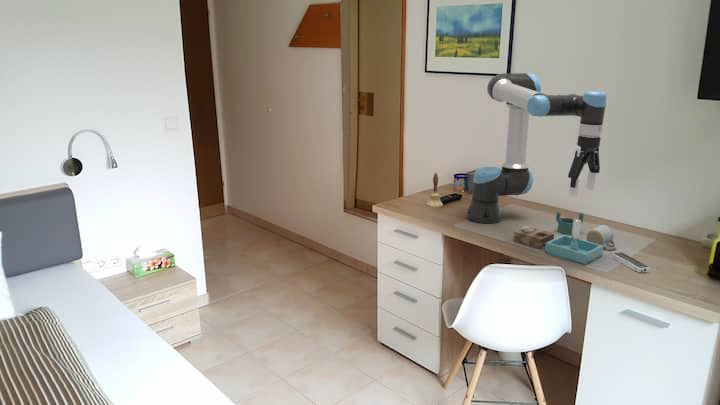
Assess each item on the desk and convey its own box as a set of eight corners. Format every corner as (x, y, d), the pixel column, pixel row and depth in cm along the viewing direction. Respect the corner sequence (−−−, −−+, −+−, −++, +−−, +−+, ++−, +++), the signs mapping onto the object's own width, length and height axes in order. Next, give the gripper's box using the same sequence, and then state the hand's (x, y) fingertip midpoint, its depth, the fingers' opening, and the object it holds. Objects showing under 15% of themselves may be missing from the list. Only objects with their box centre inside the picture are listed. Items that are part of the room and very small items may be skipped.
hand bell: (440, 208, 260) (442, 176, 256) (423, 205, 264) (425, 174, 259) (445, 203, 268) (447, 172, 263) (429, 201, 271) (430, 170, 266)
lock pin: (568, 252, 205) (572, 220, 201) (571, 250, 207) (575, 218, 203) (575, 254, 203) (579, 221, 199) (578, 252, 205) (582, 220, 201)
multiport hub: (621, 257, 203) (622, 252, 203) (649, 273, 190) (650, 267, 189) (611, 258, 202) (612, 253, 202) (638, 274, 189) (639, 268, 188)
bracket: (582, 233, 228) (585, 213, 226) (568, 236, 224) (571, 216, 221) (565, 227, 236) (568, 207, 233) (551, 230, 231) (553, 210, 229)
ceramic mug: (583, 244, 215) (586, 226, 213) (594, 240, 220) (597, 222, 218) (609, 252, 207) (612, 234, 205) (619, 248, 212) (623, 230, 210)
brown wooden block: (513, 240, 218) (514, 229, 217) (526, 235, 225) (527, 224, 223) (540, 249, 210) (541, 237, 208) (553, 243, 216) (554, 231, 215)
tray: (544, 252, 206) (545, 242, 205) (562, 244, 215) (563, 234, 214) (585, 264, 195) (586, 254, 194) (602, 255, 204) (603, 245, 203)
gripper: (583, 140, 181) (575, 200, 188) (614, 133, 198) (606, 189, 204) (562, 137, 187) (555, 196, 193) (594, 130, 203) (587, 185, 209)
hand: (581, 192), depth 198 cm, fingers open, 13 cm apart
